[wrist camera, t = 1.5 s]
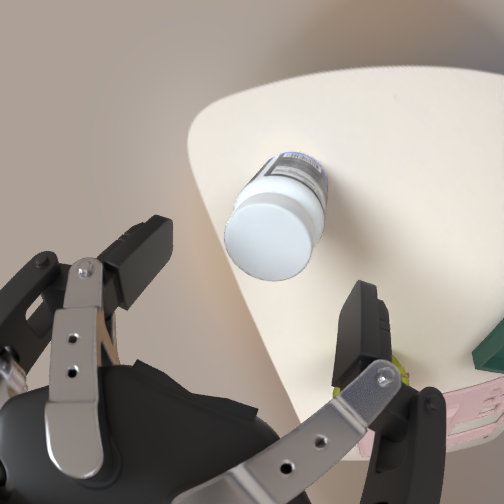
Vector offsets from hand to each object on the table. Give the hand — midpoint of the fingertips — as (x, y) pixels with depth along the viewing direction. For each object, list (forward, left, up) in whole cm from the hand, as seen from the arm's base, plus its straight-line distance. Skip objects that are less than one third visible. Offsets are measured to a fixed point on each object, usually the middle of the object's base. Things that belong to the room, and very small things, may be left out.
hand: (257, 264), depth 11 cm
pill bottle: (0, 0, -10) cm, 10 cm away
